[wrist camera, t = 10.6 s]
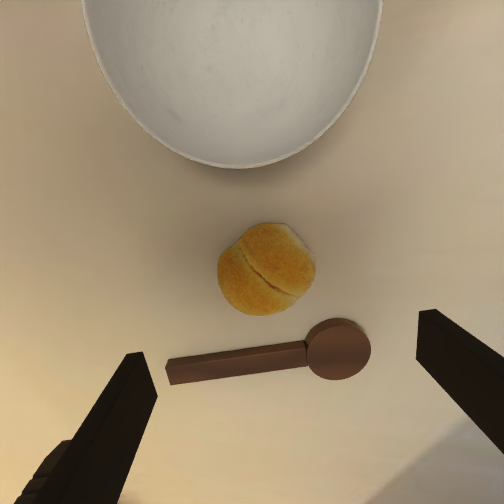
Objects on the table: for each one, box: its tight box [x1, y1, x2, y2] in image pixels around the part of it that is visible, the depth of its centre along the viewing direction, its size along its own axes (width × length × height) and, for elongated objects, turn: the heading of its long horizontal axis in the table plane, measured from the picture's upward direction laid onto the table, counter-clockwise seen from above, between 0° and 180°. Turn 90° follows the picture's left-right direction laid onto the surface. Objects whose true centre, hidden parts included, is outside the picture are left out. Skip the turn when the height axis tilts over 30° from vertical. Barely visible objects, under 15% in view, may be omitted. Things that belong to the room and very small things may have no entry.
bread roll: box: [217, 223, 315, 316], centre depth 23 cm, size 8×9×4 cm
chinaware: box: [81, 0, 383, 169], centre depth 16 cm, size 15×15×8 cm
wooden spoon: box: [165, 319, 371, 385], centre depth 27 cm, size 7×22×1 cm, turn 98°
